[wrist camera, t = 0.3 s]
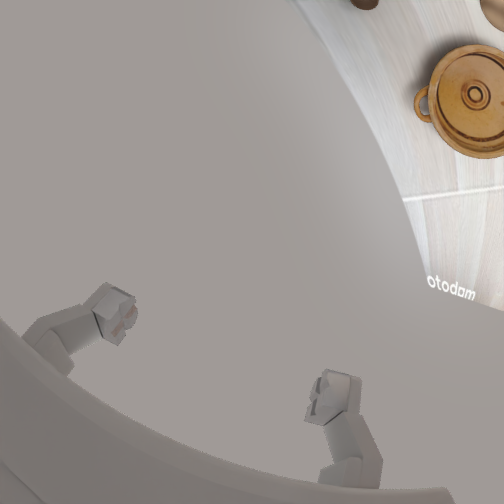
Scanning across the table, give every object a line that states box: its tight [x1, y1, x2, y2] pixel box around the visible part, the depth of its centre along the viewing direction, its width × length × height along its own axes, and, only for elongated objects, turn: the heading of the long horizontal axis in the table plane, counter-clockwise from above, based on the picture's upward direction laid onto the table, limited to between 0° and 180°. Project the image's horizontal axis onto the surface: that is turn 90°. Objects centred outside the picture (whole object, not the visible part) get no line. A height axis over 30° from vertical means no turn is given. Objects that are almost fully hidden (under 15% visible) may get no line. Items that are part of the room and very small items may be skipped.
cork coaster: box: [480, 0, 504, 32], centre depth 15 cm, size 10×10×1 cm
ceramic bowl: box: [414, 44, 504, 159], centre depth 31 cm, size 30×24×8 cm
